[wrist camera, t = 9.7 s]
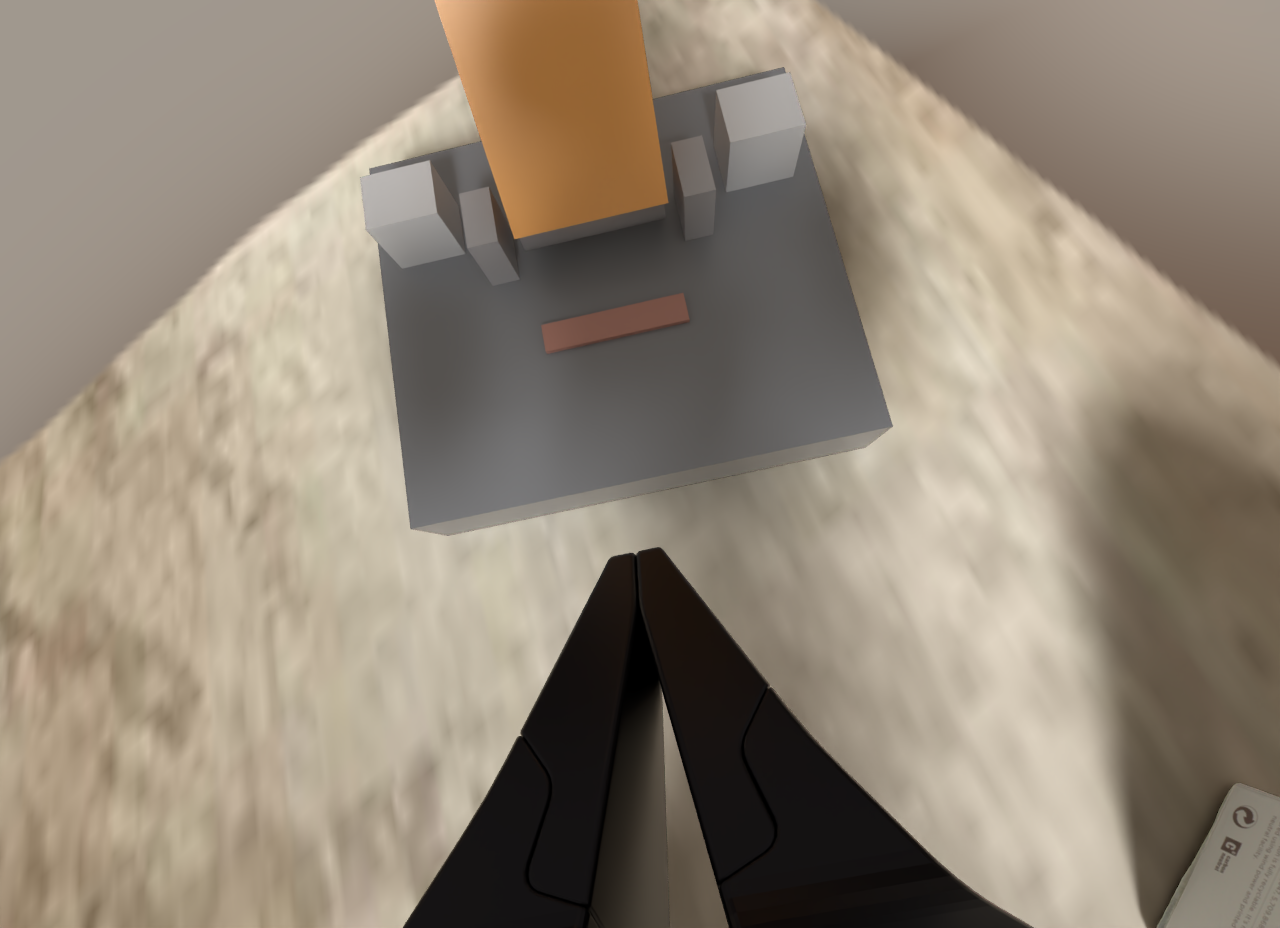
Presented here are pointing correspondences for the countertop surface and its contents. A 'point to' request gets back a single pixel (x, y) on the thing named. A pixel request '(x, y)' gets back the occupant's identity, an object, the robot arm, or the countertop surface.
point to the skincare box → (1233, 868)
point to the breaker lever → (561, 112)
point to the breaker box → (621, 324)
